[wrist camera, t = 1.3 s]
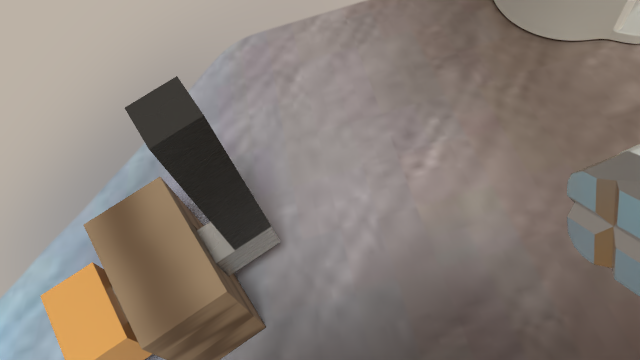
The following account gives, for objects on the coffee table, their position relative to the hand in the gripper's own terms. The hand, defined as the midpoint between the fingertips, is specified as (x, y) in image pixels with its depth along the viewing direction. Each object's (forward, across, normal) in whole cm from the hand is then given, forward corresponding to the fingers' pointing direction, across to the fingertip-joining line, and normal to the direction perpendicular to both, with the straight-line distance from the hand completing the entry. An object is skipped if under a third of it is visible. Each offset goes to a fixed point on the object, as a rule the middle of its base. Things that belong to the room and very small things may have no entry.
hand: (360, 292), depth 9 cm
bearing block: (+31, +5, +22) cm, 38 cm away
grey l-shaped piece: (+28, +6, +18) cm, 34 cm away
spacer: (+28, +11, +20) cm, 36 cm away
